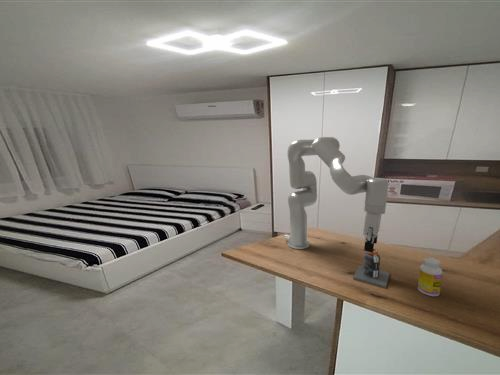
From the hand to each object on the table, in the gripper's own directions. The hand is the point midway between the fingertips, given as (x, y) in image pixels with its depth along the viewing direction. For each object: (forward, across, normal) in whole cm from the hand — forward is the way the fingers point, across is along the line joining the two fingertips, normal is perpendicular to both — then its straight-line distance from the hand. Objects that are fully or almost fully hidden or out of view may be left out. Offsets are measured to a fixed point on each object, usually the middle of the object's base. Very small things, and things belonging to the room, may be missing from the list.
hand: (370, 246), depth 97 cm
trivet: (+13, 0, +2) cm, 13 cm away
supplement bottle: (+13, 0, +21) cm, 25 cm away
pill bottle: (+12, 0, +1) cm, 13 cm away
